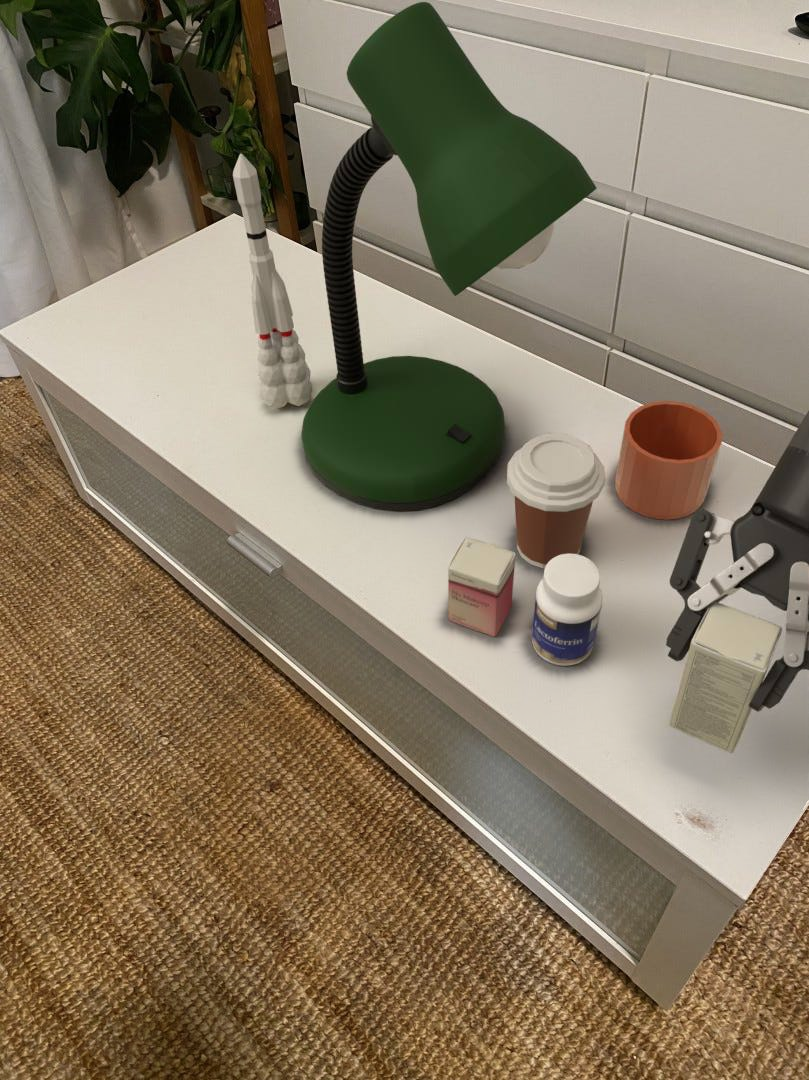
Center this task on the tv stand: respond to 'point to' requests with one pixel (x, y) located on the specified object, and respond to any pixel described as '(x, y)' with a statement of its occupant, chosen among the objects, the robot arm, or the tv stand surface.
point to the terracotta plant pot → (667, 459)
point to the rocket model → (270, 305)
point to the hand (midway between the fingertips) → (714, 682)
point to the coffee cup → (553, 495)
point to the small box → (480, 586)
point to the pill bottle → (567, 610)
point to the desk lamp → (457, 253)
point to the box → (723, 675)
